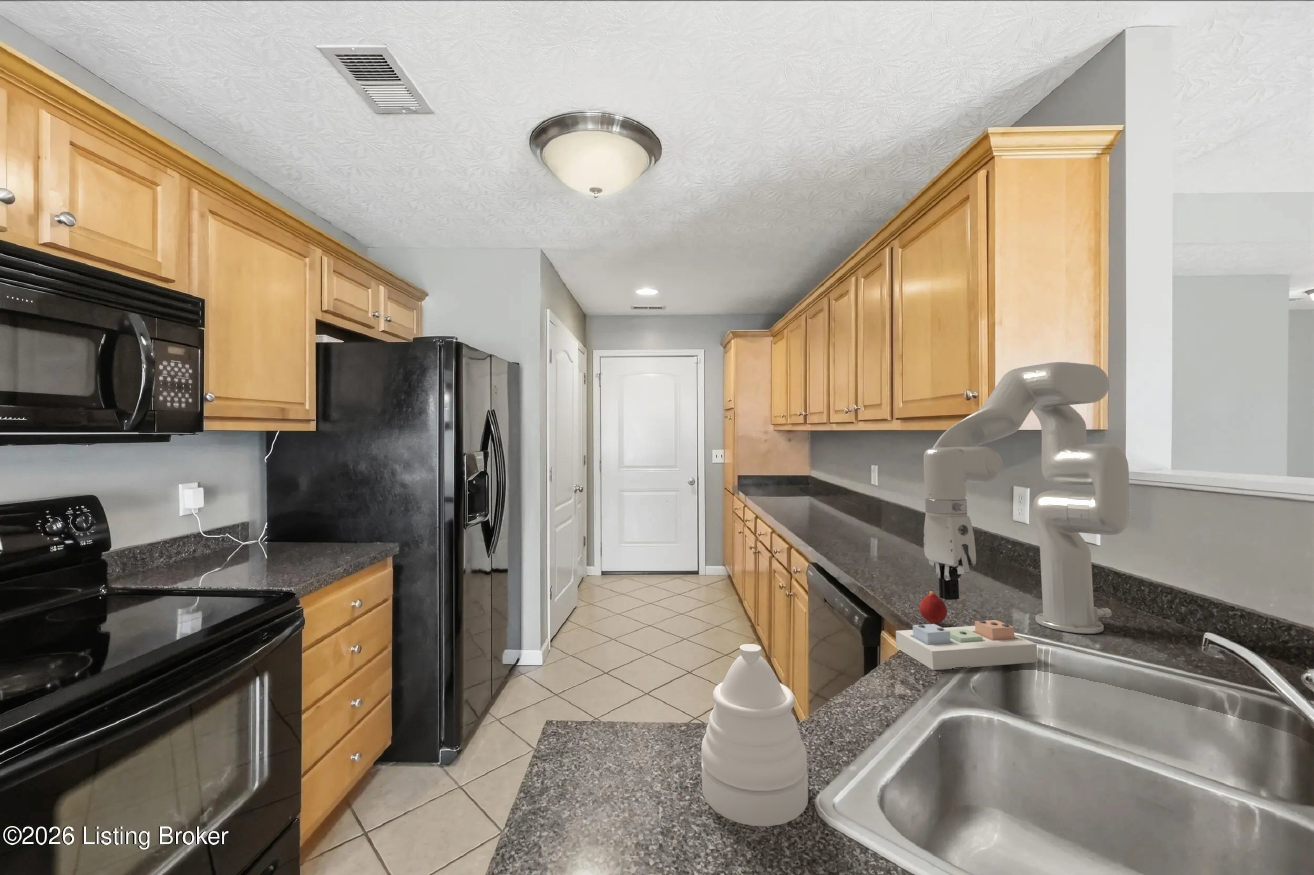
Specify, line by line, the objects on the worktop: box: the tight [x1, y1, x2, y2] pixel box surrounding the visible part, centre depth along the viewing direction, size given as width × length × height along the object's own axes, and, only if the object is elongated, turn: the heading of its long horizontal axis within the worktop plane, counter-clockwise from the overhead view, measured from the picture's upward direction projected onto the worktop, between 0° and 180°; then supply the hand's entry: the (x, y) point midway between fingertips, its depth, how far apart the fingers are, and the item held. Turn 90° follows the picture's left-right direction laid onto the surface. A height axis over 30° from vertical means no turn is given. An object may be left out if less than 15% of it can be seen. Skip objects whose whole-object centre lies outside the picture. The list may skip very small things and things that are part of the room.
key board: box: [895, 625, 1038, 671], centre depth 107 cm, size 22×12×4 cm, turn 97°
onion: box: [919, 590, 948, 625], centre depth 125 cm, size 6×6×8 cm
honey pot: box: [700, 643, 809, 827], centre depth 65 cm, size 13×13×18 cm
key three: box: [974, 619, 1015, 641], centre depth 108 cm, size 5×5×3 cm
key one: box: [948, 629, 983, 643], centre depth 107 cm, size 5×5×3 cm
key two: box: [912, 623, 950, 645], centre depth 106 cm, size 5×5×3 cm
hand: (949, 598), depth 107 cm, fingers closed
